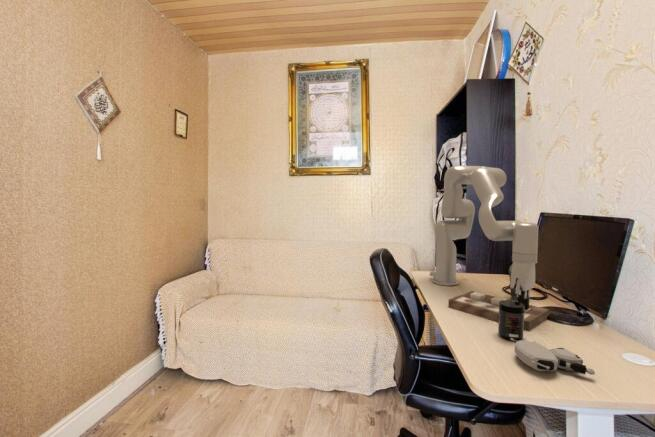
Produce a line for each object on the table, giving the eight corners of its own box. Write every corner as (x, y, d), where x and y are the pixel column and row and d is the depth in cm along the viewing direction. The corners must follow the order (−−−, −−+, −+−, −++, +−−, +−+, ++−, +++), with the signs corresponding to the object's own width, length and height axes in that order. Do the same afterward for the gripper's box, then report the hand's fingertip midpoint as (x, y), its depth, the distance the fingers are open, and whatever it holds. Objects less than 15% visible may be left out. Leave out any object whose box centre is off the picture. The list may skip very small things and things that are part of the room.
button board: (448, 307, 121) (448, 298, 120) (471, 297, 132) (471, 290, 131) (529, 331, 98) (529, 321, 98) (548, 317, 109) (548, 308, 109)
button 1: (470, 300, 123) (470, 293, 123) (475, 298, 125) (475, 291, 125) (480, 302, 120) (480, 296, 119) (485, 300, 122) (485, 294, 122)
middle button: (490, 305, 116) (491, 299, 116) (495, 303, 119) (495, 296, 119) (501, 308, 113) (502, 301, 113) (506, 306, 116) (506, 299, 116)
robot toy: (566, 359, 83) (506, 351, 86) (568, 343, 83) (508, 335, 85) (597, 387, 71) (527, 376, 73) (600, 368, 71) (529, 358, 73)
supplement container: (517, 332, 97) (518, 300, 97) (527, 342, 91) (529, 308, 90) (494, 331, 98) (495, 299, 98) (503, 341, 92) (504, 307, 91)
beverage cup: (521, 297, 133) (523, 251, 131) (531, 302, 125) (533, 254, 124) (504, 296, 133) (505, 250, 132) (512, 302, 126) (514, 253, 125)
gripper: (521, 253, 116) (519, 301, 117) (504, 258, 107) (502, 310, 108) (544, 256, 110) (542, 306, 111) (528, 261, 101) (526, 316, 102)
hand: (522, 308), depth 109 cm, fingers closed
